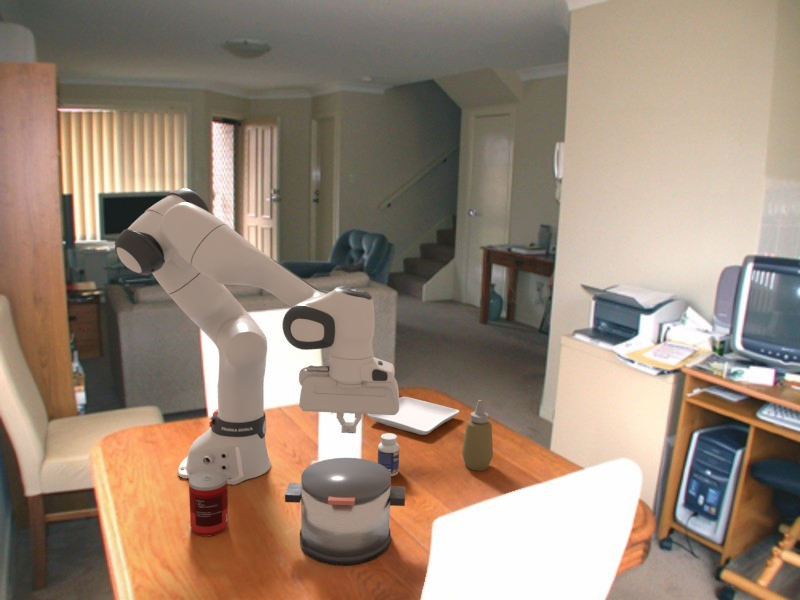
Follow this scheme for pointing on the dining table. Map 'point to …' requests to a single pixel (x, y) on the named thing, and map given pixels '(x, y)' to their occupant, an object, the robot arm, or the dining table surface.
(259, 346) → the robot arm
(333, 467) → the cooker lid
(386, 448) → the pill bottle
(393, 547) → the dining table surface
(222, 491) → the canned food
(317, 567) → the dining table surface
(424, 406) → the salad plate
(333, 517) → the cooker pot
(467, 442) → the squeeze bottle
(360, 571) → the dining table surface
